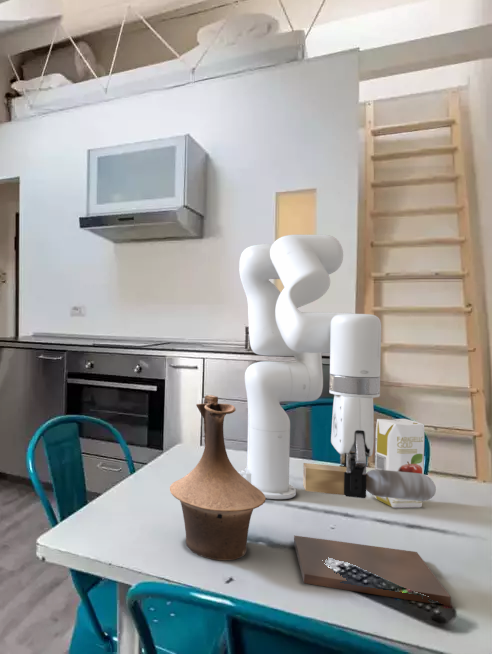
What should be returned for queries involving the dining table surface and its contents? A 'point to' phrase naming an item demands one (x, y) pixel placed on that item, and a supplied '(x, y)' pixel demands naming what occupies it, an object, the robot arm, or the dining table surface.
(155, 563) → the dining table surface
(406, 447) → the juice carton
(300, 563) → the chopping board
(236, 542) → the pitcher
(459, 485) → the dining table surface
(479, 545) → the dining table surface
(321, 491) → the wood and marble capsule
